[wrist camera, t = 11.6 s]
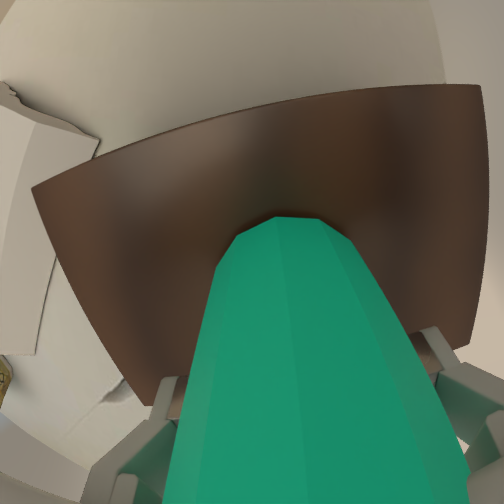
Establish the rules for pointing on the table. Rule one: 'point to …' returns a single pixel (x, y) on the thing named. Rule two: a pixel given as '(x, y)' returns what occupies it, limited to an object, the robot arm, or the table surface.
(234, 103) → the table surface
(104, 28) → the table surface
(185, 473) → the candle
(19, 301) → the molding piece
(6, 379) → the ceramic cup
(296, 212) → the stand
